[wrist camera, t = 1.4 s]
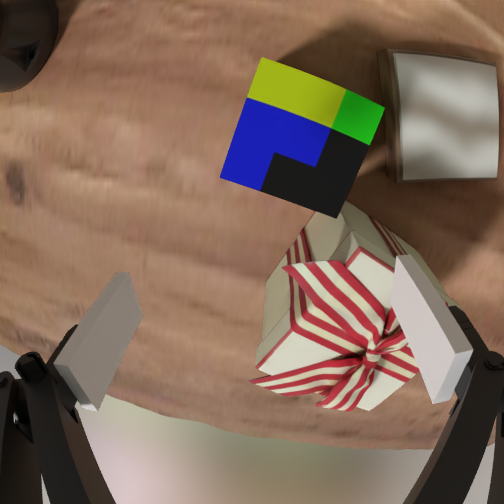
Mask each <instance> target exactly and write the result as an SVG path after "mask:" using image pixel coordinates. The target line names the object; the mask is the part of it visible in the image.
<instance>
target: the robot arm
mask: <svg viewBox="0 0 504 504" xmlns="http://www.w3.org/2000/svg"><path fill="white" fill-rule="evenodd" d="M57 27H58V12H57V7H56V4H55V2H54V0H0V93H4V92H11V91H15V90H18V89H20V88H22V87H24V86H25V85H27V84H28V83H29V82H30V81H31V80H32V79H33V78H34V77H35V76H36V75H37V74H38V72H39V71H40V70H41V68H42V67H43V65H44V64H45V62H46V60H47V58H48V56H49V54H50V52H51V49H52V47H53V44H54V41H55V37H56V33H57ZM390 304H391V306H392V308H393V310H394V312H395V315H396V317H397V319H398V321H399V323H400V325H401V328H402V330H403V332H404V334H405V337H406V339H407V341H408V344H409V346H410V348H411V351H412V353H413V355H414V358H415V360H416V363H417V365H418V367H419V370H420V372H421V375H422V377H423V380H424V382H425V385H426V388H427V390H428V393H429V395H430V398H431V401H432V404H435V403H440V402H444V401H448V400H450V398H451V396H452V394H453V392H454V390H455V392H456V395H457V397H458V399H457V400H456V402H455V404H454V406H453V408H452V409H451V411H450V413H449V414H450V416H449V419H448V421H447V423H446V425H445V428H444V430H443V432H442V434H441V436H440V438H439V440H438V442H437V444H436V446H435V448H434V450H433V452H432V454H431V456H430V458H429V460H428V462H427V464H426V465H425V467H424V469H423V471H422V473H421V474H420V476H419V478H418V480H417V482H416V483H415V485H414V486H413V488H412V490H411V491H410V493H409V495H408V496H407V498H406V499H405V501H404V503H403V504H463V502H464V500H465V498H466V496H467V494H468V491H469V489H470V487H471V485H472V482H473V480H474V478H475V475H476V473H477V470H478V468H479V465H480V463H481V460H482V457H483V455H484V452H485V449H486V446H487V444H488V441H489V438H490V435H491V431H492V428H493V425H494V422H495V418H496V438H495V450H494V461H493V469H492V476H491V484H490V490H489V495H488V501H487V504H504V357H503V356H502V355H501V354H499V353H497V352H494V351H489V350H488V348H487V347H486V345H485V343H484V342H483V340H482V339H481V337H480V335H479V334H478V332H477V331H476V329H475V328H474V326H473V325H472V323H471V322H470V320H469V319H468V317H467V316H466V314H465V313H464V312H463V311H462V310H461V309H459V308H458V307H457V306H448V307H447V306H446V304H445V303H444V301H443V300H442V298H441V297H440V295H439V294H438V292H437V291H436V289H435V288H434V286H433V285H432V284H431V282H430V281H429V279H428V278H427V276H426V275H425V273H424V272H423V271H422V269H421V268H420V266H419V265H418V264H417V262H416V261H415V260H414V258H413V257H412V256H411V254H410V255H397V256H396V264H395V272H394V279H393V286H392V293H391V299H390ZM142 317H143V313H142V310H141V307H140V304H139V301H138V298H137V295H136V292H135V289H134V286H133V283H132V280H131V277H130V274H129V272H120V273H116V274H115V275H114V276H113V278H112V279H111V280H110V282H109V283H108V284H107V286H106V287H105V288H104V290H103V291H102V293H101V294H100V295H99V297H98V298H97V300H96V301H95V302H94V304H93V305H92V307H91V308H90V309H89V311H88V312H87V314H86V315H85V316H84V318H83V319H82V321H81V322H80V324H79V325H75V326H74V327H72V328H71V329H70V330H69V331H68V332H67V333H66V335H65V336H64V338H63V340H62V341H61V342H60V343H59V347H57V348H56V349H55V351H54V352H53V354H52V356H51V357H50V359H49V360H48V362H47V363H46V364H45V362H44V361H43V359H42V358H41V356H40V354H39V353H37V352H28V353H26V354H24V355H22V356H21V357H20V358H19V359H18V360H17V362H16V364H15V369H16V371H17V372H18V374H19V375H20V377H21V378H22V379H15V378H14V377H13V375H12V374H11V373H10V372H8V371H4V372H1V373H0V504H43V499H42V482H41V474H42V477H43V481H44V484H45V487H46V491H47V494H48V497H49V501H50V504H116V503H115V501H114V499H113V497H112V495H111V493H110V491H109V489H108V486H107V484H106V482H105V480H104V478H103V475H102V473H101V471H100V469H99V466H98V464H97V462H96V459H95V457H94V455H93V452H92V449H91V447H90V444H89V442H88V439H87V436H86V434H85V431H84V428H83V426H82V422H81V420H80V417H79V414H78V411H77V409H76V408H75V404H76V402H77V400H78V402H79V403H80V404H81V406H82V407H83V409H88V410H93V411H98V410H99V408H100V405H101V403H102V401H103V398H104V396H105V394H106V392H107V390H108V388H109V385H110V383H111V381H112V379H113V377H114V375H115V372H116V370H117V368H118V366H119V364H120V362H121V360H122V358H123V356H124V353H125V351H126V349H127V347H128V345H129V343H130V341H131V339H132V337H133V335H134V333H135V331H136V329H137V327H138V325H139V323H140V321H141V319H142ZM496 415H497V417H496ZM14 418H15V423H14Z"/></svg>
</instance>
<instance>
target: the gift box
mask: <svg viewBox="0 0 504 504" xmlns="http://www.w3.org/2000/svg"><path fill="white" fill-rule="evenodd" d="M410 254H411V256H412V257H413V258H414V260H415V261H416V262H417V264H418V265H419V266H420V268H421V269H422V271H423V272H424V273H425V275H426V276H427V278H428V279H429V281H430V282H431V284H432V285H433V286H434V288H435V289H436V291H437V292H438V294H439V295H440V297H441V298H442V300H443V301H444V303H445V304H446V306H447V307H448V306H457V307H458V308H459V309H461V307H460V306H459V304H458V303H457V302H455V301H454V300H453V299H451V298H450V297H449V296H448V294H447V293H446V291H445V290H444V288H443V287H442V285H441V284H440V282H439V281H438V279H437V278H436V277H435V275H434V274H433V272H432V271H431V270H430V268H429V267H428V265H427V264H426V263H425V261H424V260H423V258H422V257H421V255H420V254H419V253H418V252H417V251H416V250H415V249H414V248H413V247H412V246H410V245H409V244H408V243H406V242H405V241H403V240H402V239H401V238H399V237H398V236H397V235H395V234H394V233H392V232H391V231H390V230H389V229H388V228H386V227H385V226H384V225H382V224H381V223H380V222H378V221H376V220H375V219H373V218H372V217H371V216H369V215H367V214H365V213H364V212H363V211H361V210H360V209H358V208H357V207H355V206H354V205H352V204H351V203H349V202H348V201H346V200H345V202H344V205H343V207H342V209H341V211H340V213H339V215H338V217H337V219H335V218H332V217H330V216H327V215H324V214H322V213H319V212H315V213H314V215H313V216H312V218H311V219H310V221H309V222H308V223H307V225H306V226H305V228H304V229H302V230H301V232H300V234H299V235H298V237H297V239H296V241H295V242H294V243H293V245H292V246H291V247H290V248H289V249H288V251H287V252H286V255H285V256H284V257H283V259H282V260H281V261H280V263H279V264H278V266H277V267H276V268H275V270H274V271H273V273H272V274H271V275H270V277H269V278H268V280H267V282H266V292H265V307H264V319H263V334H262V342H261V343H260V344H259V345H258V346H257V354H256V369H258V370H260V371H263V372H265V373H267V374H269V375H268V376H264V377H261V378H256V379H252V380H249V381H248V382H251V383H253V384H256V385H259V386H262V387H264V388H267V389H269V390H271V391H274V392H276V393H278V394H281V395H283V396H286V397H287V396H296V395H304V394H309V393H313V392H315V393H318V394H321V395H323V396H325V397H324V398H323V399H322V400H321V401H320V402H317V403H316V404H315V406H317V407H324V408H330V409H337V410H343V411H351V410H353V409H354V408H355V407H359V408H362V409H365V410H368V411H371V410H372V409H374V408H375V407H376V406H377V405H379V404H380V403H381V402H383V401H384V400H385V399H387V398H388V397H389V396H390V395H391V394H393V393H394V392H395V391H396V390H398V389H399V388H400V387H401V386H402V385H404V384H405V383H406V382H408V381H409V380H410V379H411V378H412V377H413V376H414V375H416V374H417V373H418V372H419V371H420V370H419V367H418V365H417V363H416V360H415V358H414V355H413V353H412V351H411V348H410V346H409V344H408V341H407V339H406V337H405V334H404V332H403V330H402V328H401V325H400V323H399V321H398V319H397V317H396V315H395V312H394V310H393V308H392V306H391V304H390V299H391V293H392V286H393V279H394V272H395V264H396V256H397V255H410ZM461 310H462V309H461ZM462 311H463V310H462Z"/></svg>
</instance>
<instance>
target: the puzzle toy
mask: <svg viewBox="0 0 504 504" xmlns="http://www.w3.org/2000/svg"><path fill="white" fill-rule="evenodd" d="M384 109H385V108H384V107H382V106H380V105H378V104H376V103H374V102H372V101H370V100H368V99H366V98H364V97H362V96H360V95H358V94H356V93H353V92H351V91H349V90H347V89H345V88H342V87H340V86H338V85H335V84H333V83H331V82H328V81H326V80H323V79H321V78H318V77H316V76H313V75H311V74H308V73H306V72H303V71H300V70H298V69H295V68H292V67H289V66H286V65H284V64H281V63H278V62H275V61H272V60H269V59H266V58H261V61H260V63H259V66H258V69H257V71H256V74H255V77H254V79H253V82H252V85H251V87H250V90H249V93H248V96H247V99H246V101H245V104H244V107H243V110H242V113H241V116H240V118H239V121H238V124H237V127H236V130H235V133H234V136H233V139H232V142H231V145H230V148H229V151H228V154H227V157H226V160H225V163H224V166H223V169H222V172H221V175H220V178H222V179H225V180H228V181H231V182H234V183H237V184H240V185H243V186H246V187H249V188H252V189H255V190H258V191H261V192H264V193H267V194H269V195H272V196H275V197H278V198H281V199H284V200H286V201H289V202H292V203H295V204H297V205H300V206H303V207H306V208H308V209H311V210H314V211H316V212H319V213H322V214H324V215H327V216H330V217H332V218H335V219H337V217H338V215H339V213H340V211H341V209H342V207H343V205H344V202H345V200H346V198H347V196H348V194H349V191H350V189H351V187H352V185H353V182H354V180H355V178H356V176H357V173H358V171H359V169H360V167H361V164H362V162H363V160H364V157H365V155H366V153H367V150H368V148H369V146H370V143H371V141H372V139H373V136H374V134H375V132H376V129H377V127H378V124H379V122H380V119H381V117H382V114H383V112H384Z"/></svg>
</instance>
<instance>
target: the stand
mask: <svg viewBox="0 0 504 504" xmlns="http://www.w3.org/2000/svg"><path fill="white" fill-rule="evenodd" d="M377 56H378V63H379V71H380V80H381V89H382V99H383V107H384V108H385V109H384V126H385V144H386V175H387V176H388V177H389V178H391V179H392V180H393V181H395V182H396V183H412V182H435V181H468V180H497V170H498V151H499V108H498V89H497V76H496V66H495V63H492V62H487V61H482V60H477V59H472V58H466V57H461V56H454V55H448V54H440V53H433V52H424V51H414V50H401V49H385V50H382V51H380V52H377Z"/></svg>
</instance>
